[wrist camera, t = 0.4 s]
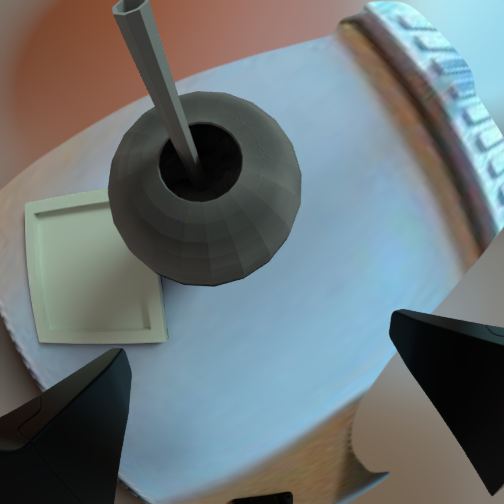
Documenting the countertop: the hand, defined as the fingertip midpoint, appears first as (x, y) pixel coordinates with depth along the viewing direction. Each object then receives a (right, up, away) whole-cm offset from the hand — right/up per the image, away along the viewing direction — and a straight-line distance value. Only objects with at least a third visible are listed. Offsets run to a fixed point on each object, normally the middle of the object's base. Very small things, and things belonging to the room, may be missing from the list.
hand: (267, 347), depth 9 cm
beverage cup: (-4, +5, +14) cm, 15 cm away
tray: (-13, +2, +12) cm, 18 cm away
